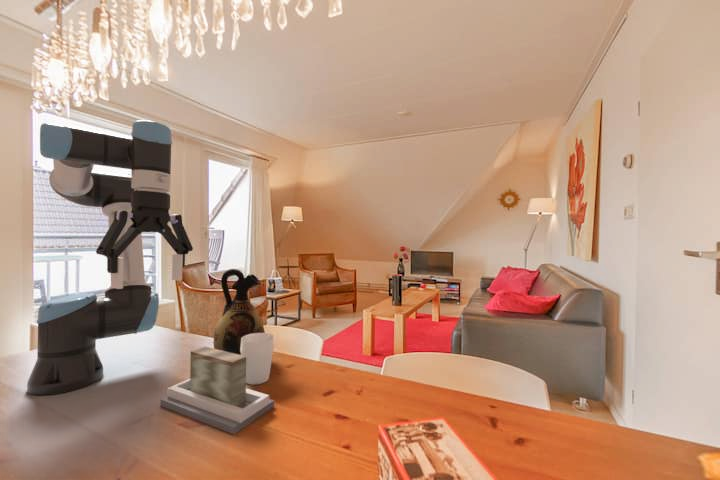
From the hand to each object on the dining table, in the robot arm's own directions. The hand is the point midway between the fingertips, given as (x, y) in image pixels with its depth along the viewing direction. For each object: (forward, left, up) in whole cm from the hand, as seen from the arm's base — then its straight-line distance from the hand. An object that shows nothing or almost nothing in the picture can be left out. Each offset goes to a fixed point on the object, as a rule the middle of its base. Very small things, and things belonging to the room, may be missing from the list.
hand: (149, 284), depth 73 cm
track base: (+13, +8, -29) cm, 33 cm away
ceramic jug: (-3, +29, -29) cm, 42 cm away
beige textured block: (+13, +8, -28) cm, 32 cm away
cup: (+11, +23, -29) cm, 39 cm away
